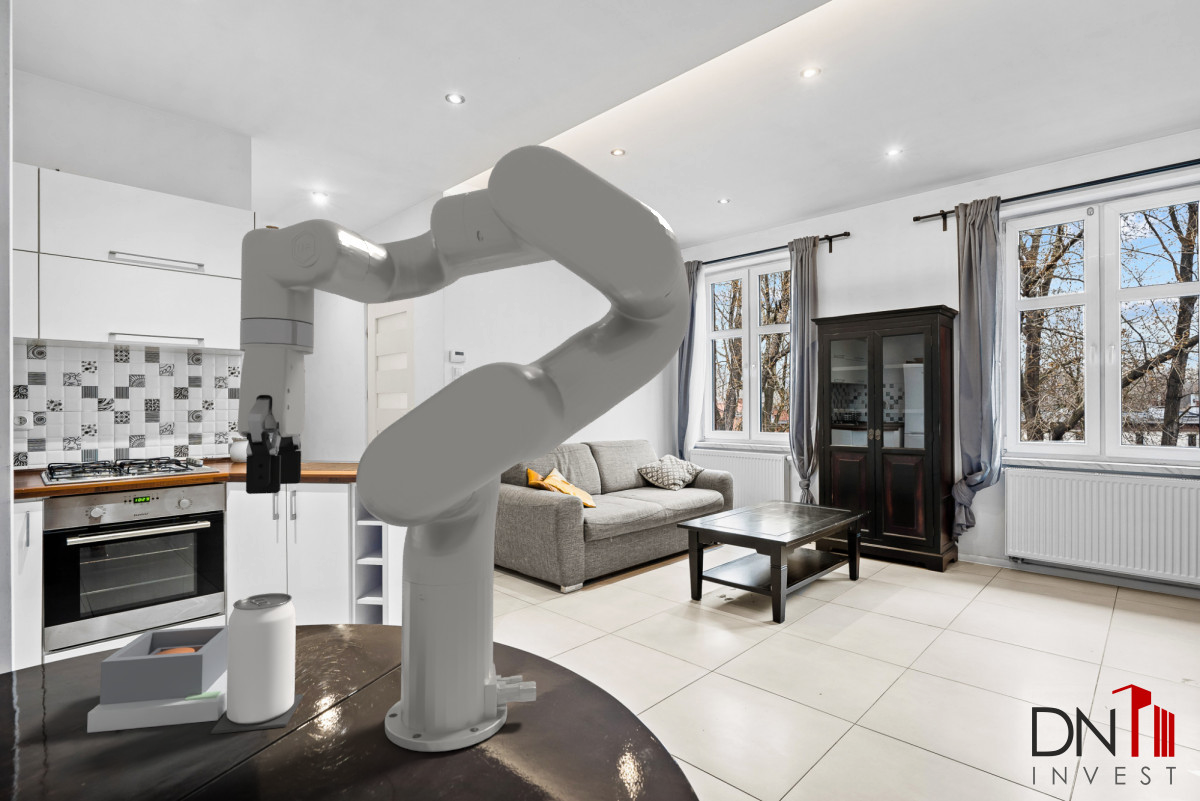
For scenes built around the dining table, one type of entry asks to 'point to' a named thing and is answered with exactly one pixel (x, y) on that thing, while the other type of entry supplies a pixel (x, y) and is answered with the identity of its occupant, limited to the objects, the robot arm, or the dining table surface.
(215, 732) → the mat
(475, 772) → the dining table surface
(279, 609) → the can
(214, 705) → the box
